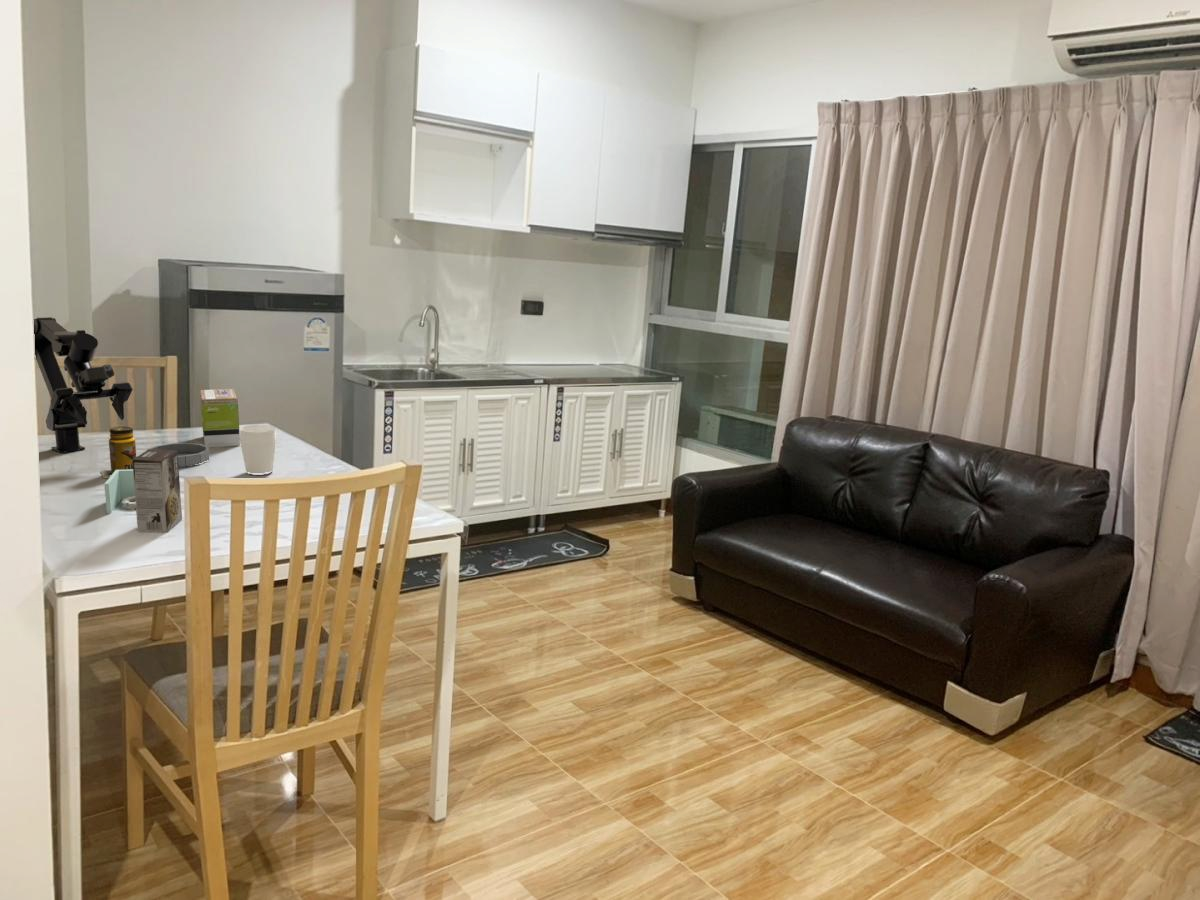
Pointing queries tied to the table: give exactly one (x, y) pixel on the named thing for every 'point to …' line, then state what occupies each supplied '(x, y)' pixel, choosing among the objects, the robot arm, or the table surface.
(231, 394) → the tea box
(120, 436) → the condiment
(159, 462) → the coffee box
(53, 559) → the table surface
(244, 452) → the cup
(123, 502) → the right angle wall
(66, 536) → the table surface
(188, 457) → the round grey tray
